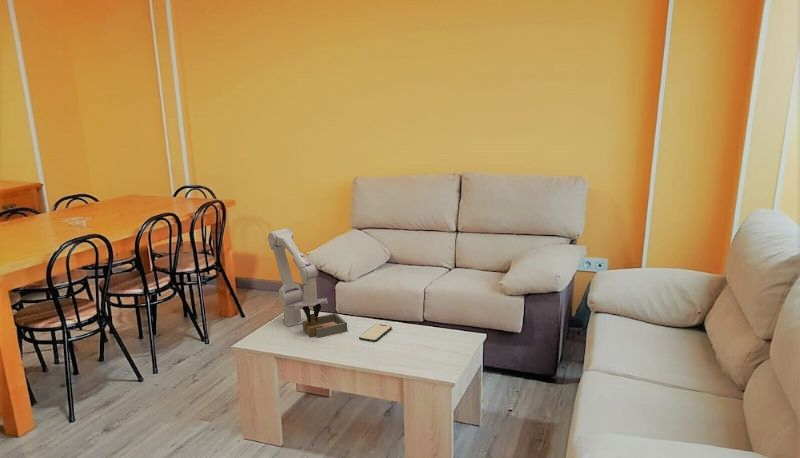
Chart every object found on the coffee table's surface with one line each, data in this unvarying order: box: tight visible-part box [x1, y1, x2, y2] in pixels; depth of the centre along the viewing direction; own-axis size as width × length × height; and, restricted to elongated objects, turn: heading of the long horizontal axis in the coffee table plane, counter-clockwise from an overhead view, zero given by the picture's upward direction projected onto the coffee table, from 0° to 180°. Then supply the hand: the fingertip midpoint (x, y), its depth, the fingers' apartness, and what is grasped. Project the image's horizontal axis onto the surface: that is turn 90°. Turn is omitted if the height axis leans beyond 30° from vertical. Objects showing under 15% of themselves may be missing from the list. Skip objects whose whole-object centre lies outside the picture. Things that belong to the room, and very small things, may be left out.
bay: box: [315, 312, 348, 339], centre depth 265 cm, size 14×14×4 cm
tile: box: [321, 322, 336, 327], centre depth 265 cm, size 8×8×2 cm
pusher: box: [302, 313, 323, 338], centre depth 262 cm, size 10×6×8 cm, turn 26°
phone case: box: [358, 323, 393, 343], centre depth 258 cm, size 9×2×16 cm
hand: (312, 321), depth 261 cm, fingers closed on pusher, 2 cm apart
